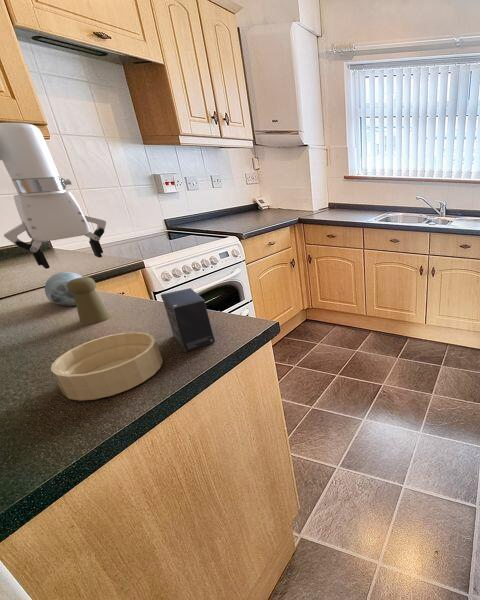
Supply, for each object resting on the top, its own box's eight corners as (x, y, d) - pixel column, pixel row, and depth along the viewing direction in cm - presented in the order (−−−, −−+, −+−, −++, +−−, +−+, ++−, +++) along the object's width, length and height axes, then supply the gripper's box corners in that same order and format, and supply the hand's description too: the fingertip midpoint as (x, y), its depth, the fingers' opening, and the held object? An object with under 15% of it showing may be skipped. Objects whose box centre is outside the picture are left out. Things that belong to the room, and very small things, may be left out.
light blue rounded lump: (98, 292, 94) (63, 264, 89) (63, 315, 90) (25, 288, 86) (102, 289, 105) (71, 264, 100) (71, 310, 101) (37, 285, 96)
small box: (217, 341, 75) (206, 299, 71) (185, 353, 71) (170, 308, 67) (202, 326, 82) (191, 286, 78) (172, 335, 78) (158, 294, 74)
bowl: (48, 412, 55) (33, 385, 53) (82, 365, 67) (71, 341, 65) (155, 388, 61) (145, 362, 58) (168, 348, 73) (160, 326, 71)
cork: (106, 311, 90) (90, 273, 86) (114, 317, 87) (98, 277, 82) (77, 320, 86) (58, 279, 81) (84, 326, 82) (66, 285, 78)
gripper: (85, 182, 82) (112, 250, 89) (-22, 190, 69) (19, 269, 76) (95, 183, 77) (122, 255, 85) (-17, 192, 65) (26, 275, 72)
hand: (73, 261), depth 80 cm, fingers open, 9 cm apart
